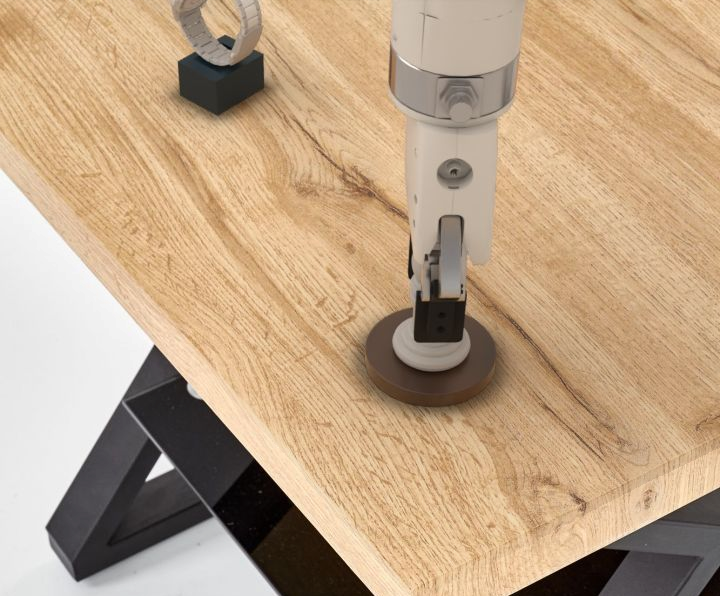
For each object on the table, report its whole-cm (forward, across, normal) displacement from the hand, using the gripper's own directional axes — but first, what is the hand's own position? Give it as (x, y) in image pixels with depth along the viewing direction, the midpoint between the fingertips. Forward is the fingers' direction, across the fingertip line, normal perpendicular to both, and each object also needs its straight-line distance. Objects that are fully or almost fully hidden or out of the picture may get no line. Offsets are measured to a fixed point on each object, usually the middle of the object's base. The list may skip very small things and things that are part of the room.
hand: (434, 306), depth 105 cm
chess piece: (+4, 0, 0) cm, 4 cm away
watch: (+5, +33, +15) cm, 37 cm away
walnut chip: (+5, 0, 0) cm, 5 cm away
